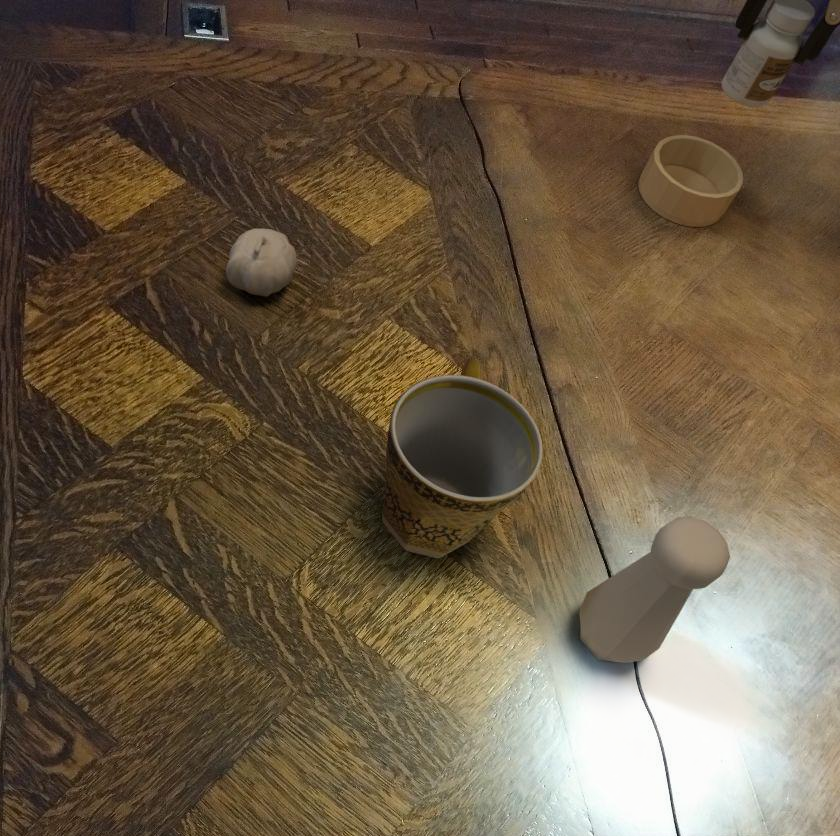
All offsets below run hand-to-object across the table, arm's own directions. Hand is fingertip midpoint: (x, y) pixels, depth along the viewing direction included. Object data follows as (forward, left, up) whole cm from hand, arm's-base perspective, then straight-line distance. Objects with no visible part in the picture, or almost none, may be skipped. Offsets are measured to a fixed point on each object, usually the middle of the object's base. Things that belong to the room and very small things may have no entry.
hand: (771, 45), depth 81 cm
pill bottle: (0, 0, -5) cm, 5 cm away
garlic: (+43, +10, -16) cm, 47 cm away
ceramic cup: (+34, +32, -16) cm, 49 cm away
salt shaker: (+24, +44, -16) cm, 52 cm away
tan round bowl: (0, 0, -16) cm, 16 cm away
